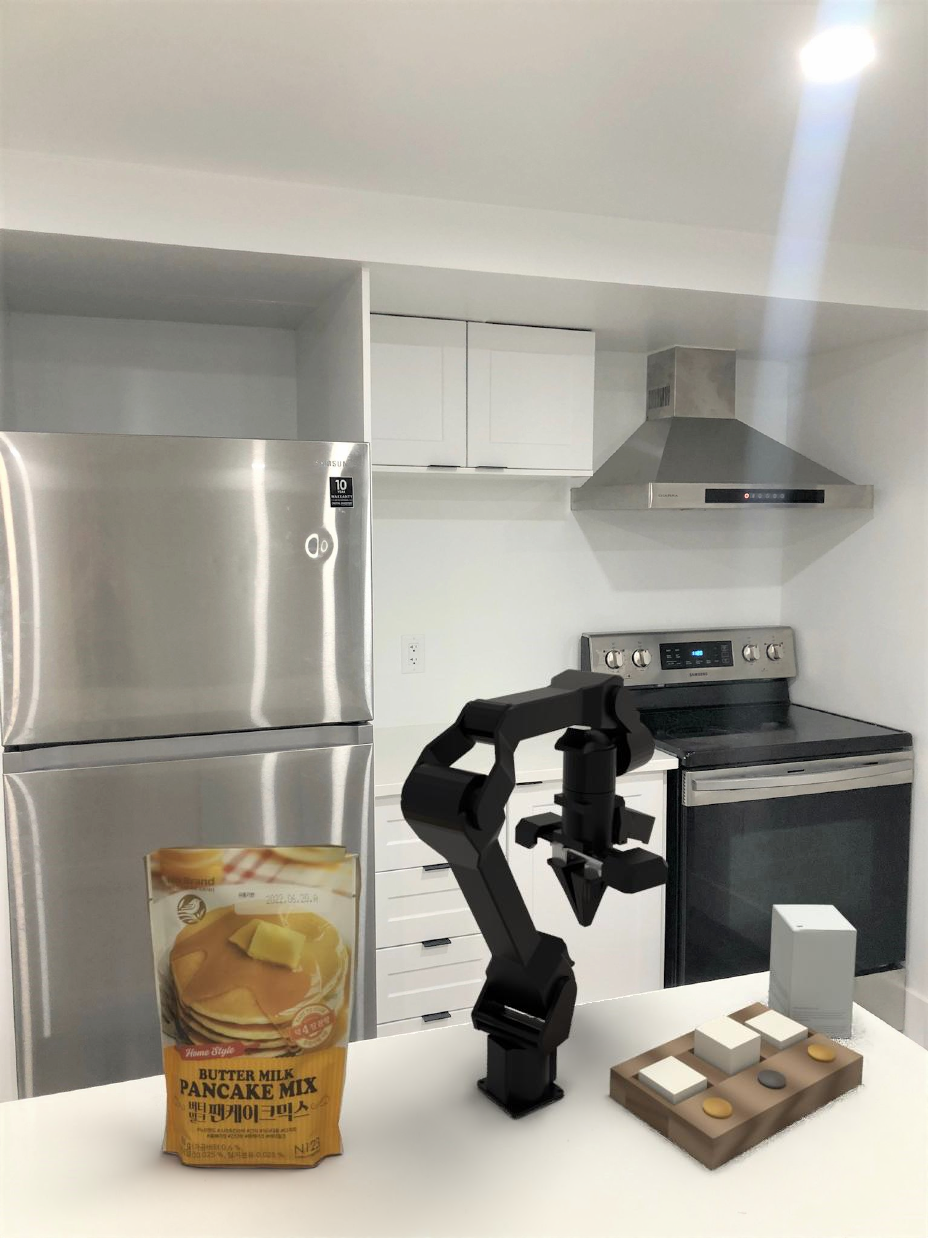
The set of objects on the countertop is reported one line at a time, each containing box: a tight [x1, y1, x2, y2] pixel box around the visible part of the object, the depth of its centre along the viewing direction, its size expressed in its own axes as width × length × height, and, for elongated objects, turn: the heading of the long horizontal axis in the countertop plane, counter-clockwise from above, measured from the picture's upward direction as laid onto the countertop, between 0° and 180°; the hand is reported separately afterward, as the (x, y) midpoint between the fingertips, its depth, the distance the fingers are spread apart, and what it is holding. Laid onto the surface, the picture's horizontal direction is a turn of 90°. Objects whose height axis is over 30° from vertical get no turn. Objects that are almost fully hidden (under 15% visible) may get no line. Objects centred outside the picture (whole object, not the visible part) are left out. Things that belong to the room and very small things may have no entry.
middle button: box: [694, 1014, 761, 1077], centre depth 96 cm, size 5×5×3 cm
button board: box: [609, 1001, 864, 1171], centre depth 95 cm, size 23×13×3 cm, turn 125°
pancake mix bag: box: [142, 843, 362, 1169], centre depth 84 cm, size 7×19×28 cm, turn 90°
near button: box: [638, 1056, 707, 1106], centre depth 91 cm, size 5×5×3 cm
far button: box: [745, 1010, 808, 1051], centre depth 101 cm, size 5×5×3 cm
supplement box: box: [767, 904, 858, 1039], centre depth 108 cm, size 7×7×13 cm
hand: (585, 925), depth 103 cm, fingers closed
